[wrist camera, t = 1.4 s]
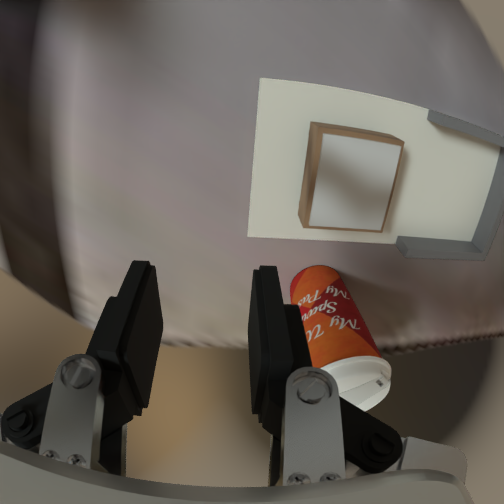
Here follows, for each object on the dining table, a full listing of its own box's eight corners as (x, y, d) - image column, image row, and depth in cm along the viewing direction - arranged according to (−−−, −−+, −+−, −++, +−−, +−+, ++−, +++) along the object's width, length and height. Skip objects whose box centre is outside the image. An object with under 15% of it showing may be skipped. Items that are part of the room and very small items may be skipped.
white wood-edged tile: (307, 119, 23) (319, 127, 20) (385, 131, 24) (406, 142, 20) (295, 209, 27) (303, 229, 24) (367, 214, 28) (383, 234, 25)
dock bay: (259, 77, 22) (262, 78, 19) (505, 137, 24) (523, 146, 21) (247, 234, 29) (248, 251, 27) (471, 246, 31) (484, 260, 29)
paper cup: (326, 242, 30) (375, 356, 18) (361, 287, 33) (407, 392, 22) (263, 285, 32) (277, 405, 21) (304, 323, 36) (327, 430, 24)
